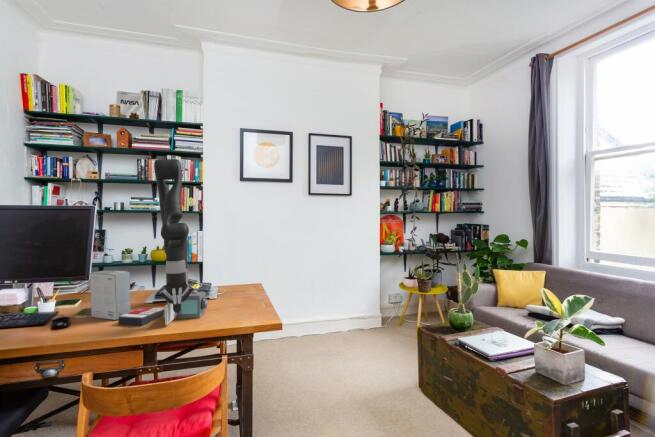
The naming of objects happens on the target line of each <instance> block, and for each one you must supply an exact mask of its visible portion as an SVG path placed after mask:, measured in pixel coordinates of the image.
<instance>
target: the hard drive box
mask: <svg viewBox="0 0 655 437" xmlns="http://www.w3.org/2000/svg"><path fill="white" fill-rule="evenodd" d="M130 275H131V271H126V270H125V271H124V270H107V269H105V270H99V271H94V272H90V273H89V280H90V282H89V284H90V311H91V312H90V313H91V317H92V318H97V319H105V320H112V321H113V320H114V321H117V320H119V317H120V316H122V315H125V314H128V313H129V312H132V311H131V307H132V306H131V278H130Z"/></svg>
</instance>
